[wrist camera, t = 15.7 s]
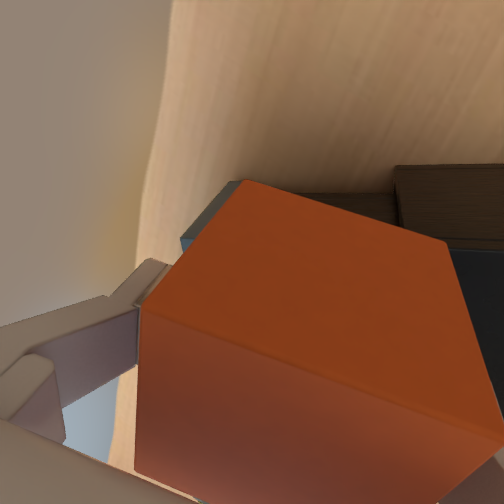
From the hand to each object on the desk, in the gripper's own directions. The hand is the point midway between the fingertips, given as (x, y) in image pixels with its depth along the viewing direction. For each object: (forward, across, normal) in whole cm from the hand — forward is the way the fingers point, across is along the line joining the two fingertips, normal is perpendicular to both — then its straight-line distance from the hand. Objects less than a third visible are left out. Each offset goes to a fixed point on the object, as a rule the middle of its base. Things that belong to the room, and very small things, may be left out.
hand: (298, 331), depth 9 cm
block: (+2, 0, 0) cm, 2 cm away
